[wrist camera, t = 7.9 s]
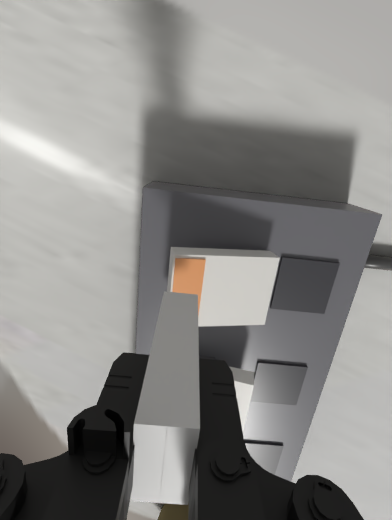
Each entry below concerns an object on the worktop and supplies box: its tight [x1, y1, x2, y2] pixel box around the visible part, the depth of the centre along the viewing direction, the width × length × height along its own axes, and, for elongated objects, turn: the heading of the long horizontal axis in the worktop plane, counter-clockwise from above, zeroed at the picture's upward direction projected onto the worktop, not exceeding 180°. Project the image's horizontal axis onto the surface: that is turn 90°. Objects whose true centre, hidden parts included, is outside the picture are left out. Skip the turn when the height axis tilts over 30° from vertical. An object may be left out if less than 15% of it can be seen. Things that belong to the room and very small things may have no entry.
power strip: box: [136, 181, 392, 482], centre depth 23 cm, size 21×26×5 cm
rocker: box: [167, 247, 280, 327], centre depth 16 cm, size 6×4×1 cm
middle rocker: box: [229, 366, 254, 431], centre depth 19 cm, size 6×4×1 cm
